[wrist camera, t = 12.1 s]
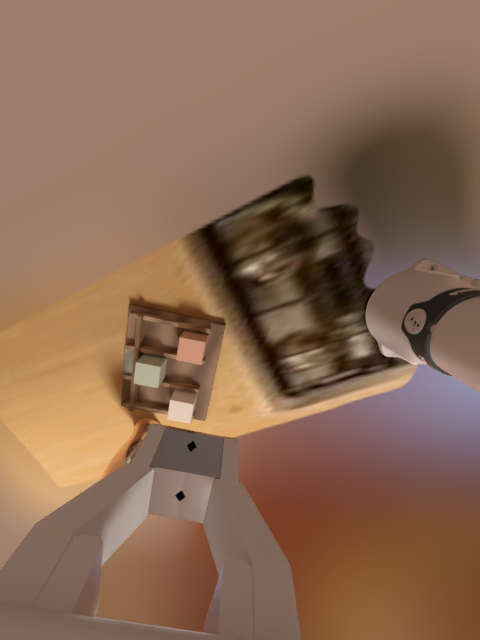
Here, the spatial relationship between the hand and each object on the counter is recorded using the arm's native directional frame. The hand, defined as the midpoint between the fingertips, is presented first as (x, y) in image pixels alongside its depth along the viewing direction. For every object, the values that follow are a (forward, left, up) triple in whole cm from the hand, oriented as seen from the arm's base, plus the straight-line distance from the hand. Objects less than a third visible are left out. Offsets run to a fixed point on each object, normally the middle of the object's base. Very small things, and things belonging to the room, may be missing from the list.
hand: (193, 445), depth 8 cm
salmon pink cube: (+5, +13, -36) cm, 38 cm away
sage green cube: (+12, +19, -36) cm, 42 cm away
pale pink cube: (+5, +26, -36) cm, 44 cm away
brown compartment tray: (+9, +19, -37) cm, 43 cm away
